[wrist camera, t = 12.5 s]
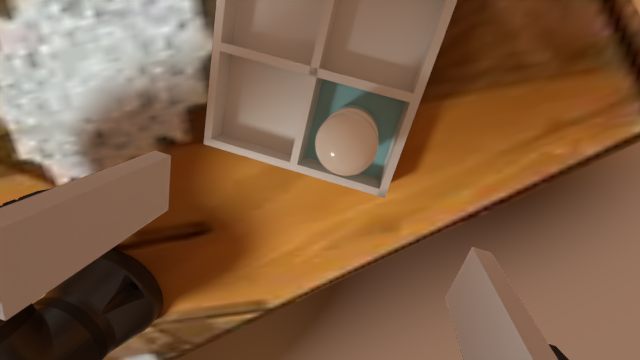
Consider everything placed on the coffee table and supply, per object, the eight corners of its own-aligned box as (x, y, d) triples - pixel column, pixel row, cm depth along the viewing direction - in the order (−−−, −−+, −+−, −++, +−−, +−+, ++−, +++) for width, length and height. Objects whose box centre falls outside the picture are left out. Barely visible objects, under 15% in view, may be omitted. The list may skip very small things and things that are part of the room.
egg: (368, 162, 32) (366, 193, 24) (320, 148, 33) (302, 173, 25) (385, 112, 30) (388, 128, 22) (333, 98, 31) (318, 109, 23)
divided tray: (384, 185, 34) (384, 198, 31) (219, 137, 36) (203, 143, 33) (457, -18, 26) (468, -30, 23) (242, -69, 28) (224, -87, 25)
